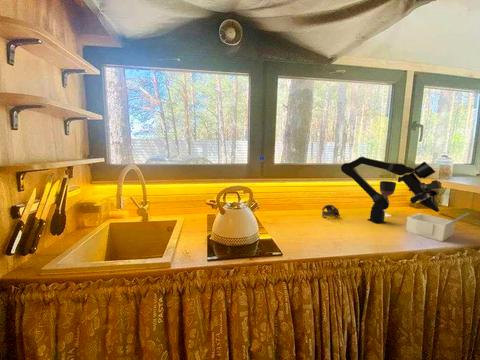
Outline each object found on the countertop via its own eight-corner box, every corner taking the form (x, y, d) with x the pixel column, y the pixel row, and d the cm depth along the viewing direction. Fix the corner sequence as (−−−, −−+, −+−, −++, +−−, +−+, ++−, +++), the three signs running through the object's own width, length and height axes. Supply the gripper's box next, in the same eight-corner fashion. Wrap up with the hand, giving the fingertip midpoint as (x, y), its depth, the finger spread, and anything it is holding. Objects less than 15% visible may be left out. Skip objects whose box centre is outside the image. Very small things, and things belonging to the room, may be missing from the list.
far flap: (460, 216, 97) (461, 217, 97) (469, 212, 104) (470, 212, 104) (444, 225, 102) (445, 226, 102) (454, 220, 109) (455, 221, 108)
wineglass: (373, 213, 142) (377, 181, 139) (381, 211, 146) (385, 180, 143) (386, 217, 135) (390, 183, 132) (395, 215, 140) (399, 182, 136)
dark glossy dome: (343, 220, 130) (339, 209, 127) (327, 226, 132) (322, 215, 130) (336, 209, 141) (332, 198, 138) (321, 215, 143) (316, 204, 141)
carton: (404, 231, 114) (406, 217, 113) (417, 225, 122) (419, 212, 121) (441, 241, 102) (444, 226, 101) (453, 234, 110) (455, 220, 109)
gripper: (421, 175, 105) (449, 205, 98) (437, 173, 115) (463, 200, 108) (400, 189, 113) (423, 217, 105) (416, 186, 123) (439, 211, 115)
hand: (438, 211), depth 108 cm, fingers closed
